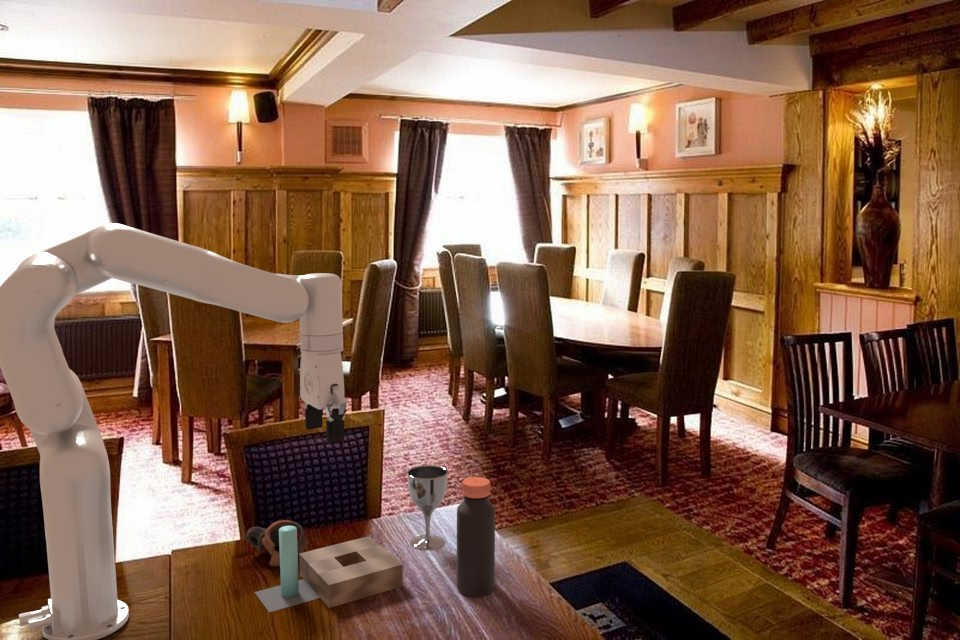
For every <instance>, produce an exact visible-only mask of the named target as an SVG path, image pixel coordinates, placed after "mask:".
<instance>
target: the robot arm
mask: <svg viewBox="0 0 960 640" xmlns="http://www.w3.org/2000/svg"><path fill="white" fill-rule="evenodd" d="M111 279H115V280H118V281H121V282H125V283H129V284H133V285H137V286H142V287H145V288H149V289H153V290H156V291H160V292H163V293H164V292H165V293H167V294H170V295H174V296H178V297H182V298H185V299H190V300H193V301H196V302H199V303H203V304H209V305H214V306H218V307H222V308H226V309H230V310H233V311H236V312H239V313H243V314H248V315H251V316H255V317H259V318H262V319H266V320H270V321H274V322H278V323H285V324H286V323H294V322H295V321H297V320H299V342H300V353H301V354H300V365H299V367H300V370H299V396H300V399H301V400H302V401H303V406H304V422H305V423H304V424H305V426H304V427H305V429H306V430H307V431H308V430H314V429H320V428H322V427H323V423H324V422H323V409H324V412H325V414H326V416H327V417H326V418H327V420H326V421H325V429H326V432H325V434H326V435H325V437H326V442H327V443H328V444H333V443H339V442H343V441H345V440H346V439H345V420H346V412H347V410H346V406H347V398H346V397H345V381H344V380H345V379H344V378H345V377H344V369H343V367H344V366H343V360H342V359H343V358H342V352H343V351H344V334H343V333H344V332H343V331H344V329H343V324H344V323H343V296H342V295H343V292H342V291H343V289H342V288H343V287H342V280H341V278H340V277H339V275H337V274H335V273H326V272H324V273H322V272H320V273H318V272H316V273H308V274H304V275H295V274H294V275H293V274H283V273H274V272H269V271H267V270H262V269H259V268H256V267H253V266H250V265H247V264H243V263H242V262H237V261H235V260H232V259H229V258H227V257H224V256H222V255H220V254H218V253H216V252H214V251H211V250H208V249H205V248H202V247H199V246H195V245H192V244H188V243H185V242H182V241H179V240H175V239H171V238H168V237H165V236H162V235H157V234H154V233H153V232H152V233H151V232H148V231H144V230H142V229H138V228H135V227H131V226H128V225H125V224H123V223H122V224H121V223H116V222H113V223H112V222H110V223H105V224H102V225H99V226H98V227H96V228H93V229H91V230H90V231H87V232H85V233H83V234H81V235H78V236H76V237H73V238H70V239H69V240H66V241H64V242H61V243H59V244H55V245H54V246H52V247H49V248H47V249H44V250H42V251H39V252H37V253H34V254H32V255H30V256H28V257H26V258H25V259H24V260H22V261H21V263H20V264H19V265H18V266H17V268H16V269H15V270H14V271H13V272H12V273H11V274H10V275H9V276H8V277H6V279H5V280H4V282H3V283H2V284H1V285H0V369H1V372H2V375H3V378H4V380H5V383H6V385H7V389H8V391H9V393H10V396H11V399H12V400H13V401H12V402H13V404H14V408H15V411H16V415H17V416H18V419H19V420H20V422H21V423H23V425H24V426H25V427H26V428H27V429H29V431H30V433H31V436H32V439H33V441H34V442H35V445H36V447H37V450H38V453H39V456H40V459H39V485H40V492H41V502H42V511H43V521H44V533H45V541H46V554H47V564H48V565H47V567H48V579H49V590H50V598H48V599H47V605H44V606H41V609H38V610H37V609H36V610H33V611H28V612H27V611H26V612H22V613H19V614H18V618H19V627H20V628H22V627H24V626H28V627H29V631H32V630H35V629H36V630H37V629H40V628H42V635H43V638H44V639H45V638H46V639H48V640H99V639H103V638H106V637H107V636H109V635H111V634H114V633H115V632H116V631H118V630H120V629H121V628H122V627H123V626H124V625H125V624H126V623H127V622H128V619H129V617H130V609H129V606H128V604H126V603H125V602H123V601H121V600H119V599H118V590H117V589H118V588H117V574H116V573H117V572H116V557H115V546H114V532H113V531H114V530H113V528H114V527H113V518H112V516H113V515H112V501H111V497H112V495H111V469H110V463H109V462H110V461H109V458H108V457H109V456H108V453H107V448H106V446H105V442H104V438H103V436H102V434H101V430H100V428H99V426H98V423H97V421H96V418H95V416H94V413H93V410H92V408H91V405H90V403H89V400H88V398H87V394H86V393H85V389H84V387H83V384H82V382H81V380H80V379H79V377H78V375H77V374H76V373H75V372H74V371H73V370H72V369H70V368H69V365H68V362H67V360H66V357H65V354H64V352H63V348H62V345H61V343H60V341H59V338H58V335H57V333H56V329H55V320H56V317H57V315H58V314H59V312H60V311H62V310H63V309H64V308H65V307H66V306H68V305H69V303H71V301H72V300H73V298H74V297H75V296H76V295H79V294H80V293H82V292H85V291H88V290H90V289H92V288H95V287H96V286H99V285H100V284H103V283H105V282H106V281H109V280H111ZM332 410H333V411H332ZM46 639H45V640H46Z"/></svg>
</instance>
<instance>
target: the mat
mask: <svg viewBox="0 0 960 640" xmlns="http://www.w3.org/2000/svg"><path fill="white" fill-rule="evenodd" d="M298 584H299V594H298V596H296V597H294V598H289V599H288V598H283V597H282V596H281V584H280V585H277V586H272V587H269V588H265V589H262V590H259V591H255V592H254V594H255V595H256V596H257V598H258V599H259V601H260V602H261V604H262V605H263V606H264V607H265V609H266V610H267V611H268V613H273V612H276V611H280V610H283V609H286V608H290V607H294V606H297V605H301V604H304V603H307V602H310V601H314V600H318V599H321V598H320V597H319V596H318V595H317V593H316V592H315V591H314V590H313V589H312V588H311V587H310V586H309V584H308V583H307V582H306V581H305V580H304V579H303V578H302V579H298Z"/></svg>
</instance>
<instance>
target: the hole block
mask: <svg viewBox="0 0 960 640" xmlns="http://www.w3.org/2000/svg"><path fill="white" fill-rule="evenodd" d="M298 558H299V559H298V567H299V576H300V577H301V578H302V579H304V580H305V581H306V582H307V583H308V584H309V586H310V587H311V588H312V589H313V590H314V591H315V592H316V593H317V595H318V596H319V597H320V598H319V599H321V601H323V603H324V604H325V605H326V606H327V607H328V609H331V608H334V607H338V606H341V605H344V604H348V603H351V602H354V601H358V600H362V599H364V598H368V597H371V596H374V595H375V596H376V595H378V594H382V593H385V592H388V591H391V590H394V589H398V588H402V587H404V584H403V583H404V582H403V581H404V580H403V579H404V573H403V571H404V568H403V567H404V566H403V563H401V561H400V560H398V559H397V558H396V557H394V556H393V555H392V554H391V553H390V552H389V551H387V550H386V549H385V548H384V547H383V546H382V545H380V544H379V543H378V542H377V541H376V540H374V539H373V538H372V537H371V536H370V535H369V536H364V537H360V538H356V539H352V540H348V541H344V542H340V543H337V544H336V543H335V544H332V545H329V546H325V547H319V548H316V549H312V550H308V551H305V552H304V551H303V552H300V553H299V556H298Z"/></svg>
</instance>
